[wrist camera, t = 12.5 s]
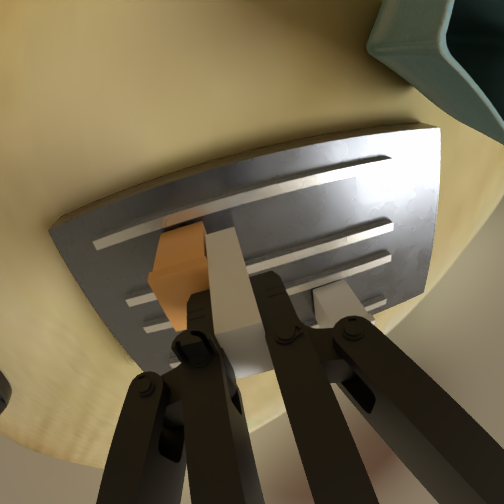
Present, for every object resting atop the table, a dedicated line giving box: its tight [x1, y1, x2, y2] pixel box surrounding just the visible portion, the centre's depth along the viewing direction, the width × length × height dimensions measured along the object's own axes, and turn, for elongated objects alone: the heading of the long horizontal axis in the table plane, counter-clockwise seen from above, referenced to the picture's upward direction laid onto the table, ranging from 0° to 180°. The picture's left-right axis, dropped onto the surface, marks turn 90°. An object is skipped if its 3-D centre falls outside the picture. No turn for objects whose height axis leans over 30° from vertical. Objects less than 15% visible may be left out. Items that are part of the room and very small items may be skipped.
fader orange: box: [147, 221, 210, 332], centre depth 14 cm, size 3×3×4 cm
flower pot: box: [366, 0, 504, 145], centre depth 9 cm, size 9×9×9 cm
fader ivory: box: [313, 279, 375, 328], centre depth 18 cm, size 3×3×4 cm
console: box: [48, 123, 440, 376], centre depth 18 cm, size 26×15×3 cm, turn 103°
